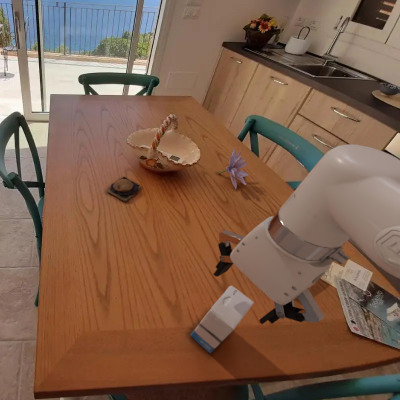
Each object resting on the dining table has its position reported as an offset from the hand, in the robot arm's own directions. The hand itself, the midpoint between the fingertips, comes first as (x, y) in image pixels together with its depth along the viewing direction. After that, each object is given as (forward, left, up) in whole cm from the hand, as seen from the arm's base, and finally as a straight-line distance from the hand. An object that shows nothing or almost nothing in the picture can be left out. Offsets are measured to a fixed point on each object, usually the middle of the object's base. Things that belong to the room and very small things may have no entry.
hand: (241, 294), depth 48 cm
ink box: (0, 0, -16) cm, 16 cm away
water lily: (+35, -50, -16) cm, 63 cm away
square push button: (+47, -10, -16) cm, 50 cm away
